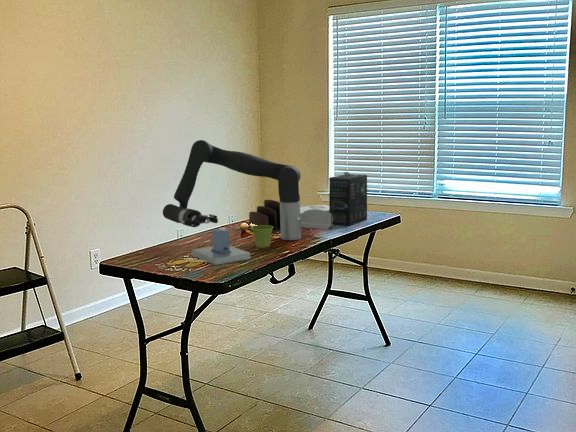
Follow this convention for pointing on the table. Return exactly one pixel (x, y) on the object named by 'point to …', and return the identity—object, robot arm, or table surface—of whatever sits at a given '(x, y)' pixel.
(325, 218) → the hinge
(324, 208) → the white rounded slab
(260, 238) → the plant pot
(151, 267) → the table surface
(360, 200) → the headset box
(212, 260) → the plate
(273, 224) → the letter holder
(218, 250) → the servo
